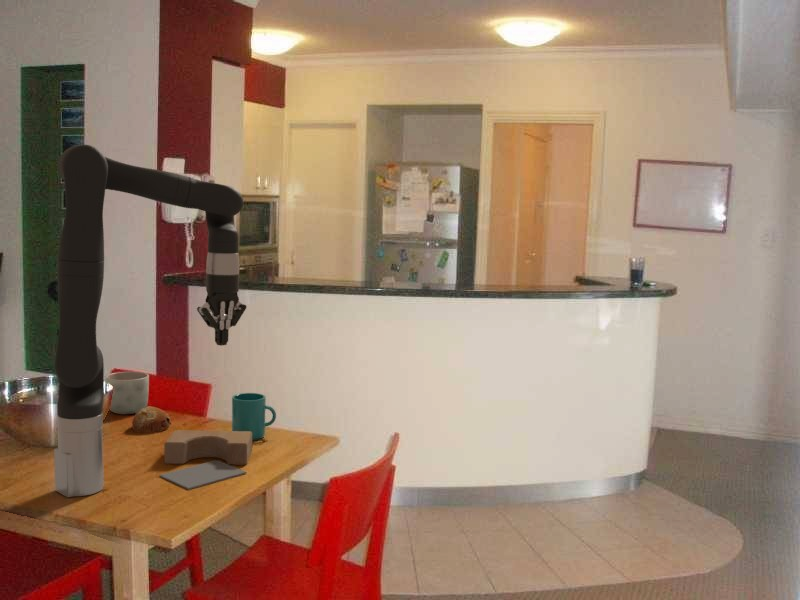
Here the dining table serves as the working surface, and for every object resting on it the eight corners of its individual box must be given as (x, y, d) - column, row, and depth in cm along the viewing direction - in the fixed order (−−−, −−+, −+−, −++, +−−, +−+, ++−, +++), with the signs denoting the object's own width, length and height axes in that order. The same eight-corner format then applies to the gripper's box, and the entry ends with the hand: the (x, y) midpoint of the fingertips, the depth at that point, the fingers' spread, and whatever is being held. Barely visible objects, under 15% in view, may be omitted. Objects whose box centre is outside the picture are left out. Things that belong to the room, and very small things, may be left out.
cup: (274, 441, 219) (275, 401, 218) (229, 441, 218) (229, 400, 217) (277, 432, 228) (277, 393, 227) (234, 431, 227) (234, 392, 226)
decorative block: (246, 443, 198) (163, 442, 197) (246, 466, 199) (164, 465, 198) (252, 430, 209) (174, 429, 208) (252, 451, 210) (174, 450, 209)
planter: (156, 407, 250) (156, 373, 248) (136, 418, 237) (136, 381, 236) (119, 404, 252) (119, 370, 250) (97, 414, 240) (97, 378, 238)
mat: (188, 489, 181) (188, 488, 181) (159, 476, 189) (159, 474, 189) (246, 473, 193) (246, 471, 193) (216, 461, 201) (216, 460, 201)
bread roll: (143, 435, 233) (131, 411, 232) (176, 420, 233) (164, 396, 232) (136, 445, 223) (123, 420, 222) (170, 430, 224) (157, 404, 222)
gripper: (208, 274, 182) (207, 350, 184) (255, 272, 191) (253, 344, 194) (189, 271, 187) (188, 345, 189) (236, 269, 196) (234, 339, 198)
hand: (221, 344), depth 191 cm, fingers closed
